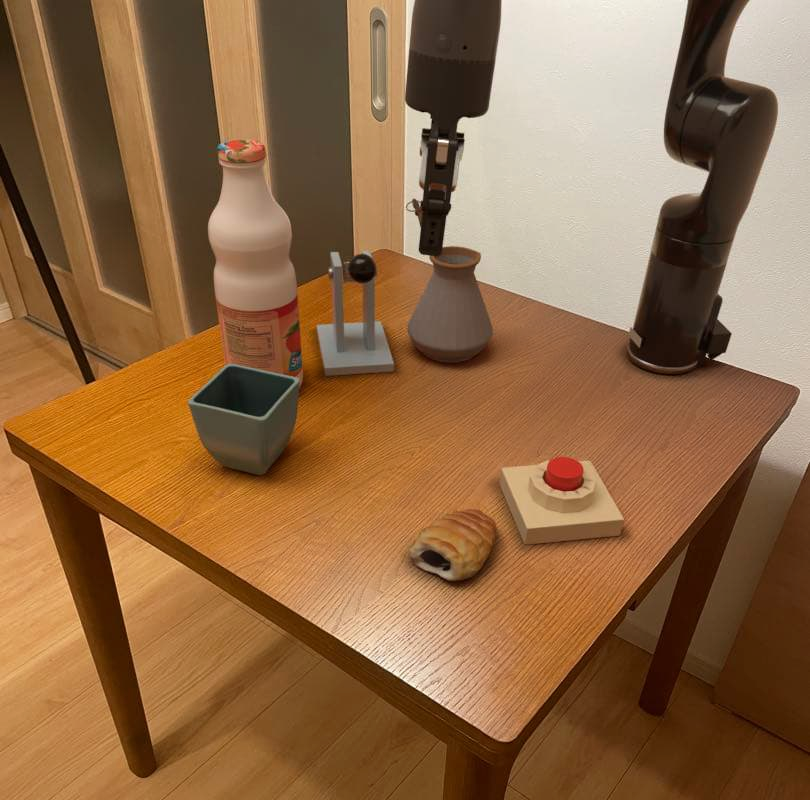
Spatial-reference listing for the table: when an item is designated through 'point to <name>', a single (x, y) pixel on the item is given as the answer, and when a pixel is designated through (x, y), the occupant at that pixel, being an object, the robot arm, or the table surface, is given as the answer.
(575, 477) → the button
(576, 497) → the button block
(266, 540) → the table surface
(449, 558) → the pastry
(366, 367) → the bracket
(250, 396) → the flower pot
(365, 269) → the lever
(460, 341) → the coffee pot
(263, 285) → the fruit juice
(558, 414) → the table surface
